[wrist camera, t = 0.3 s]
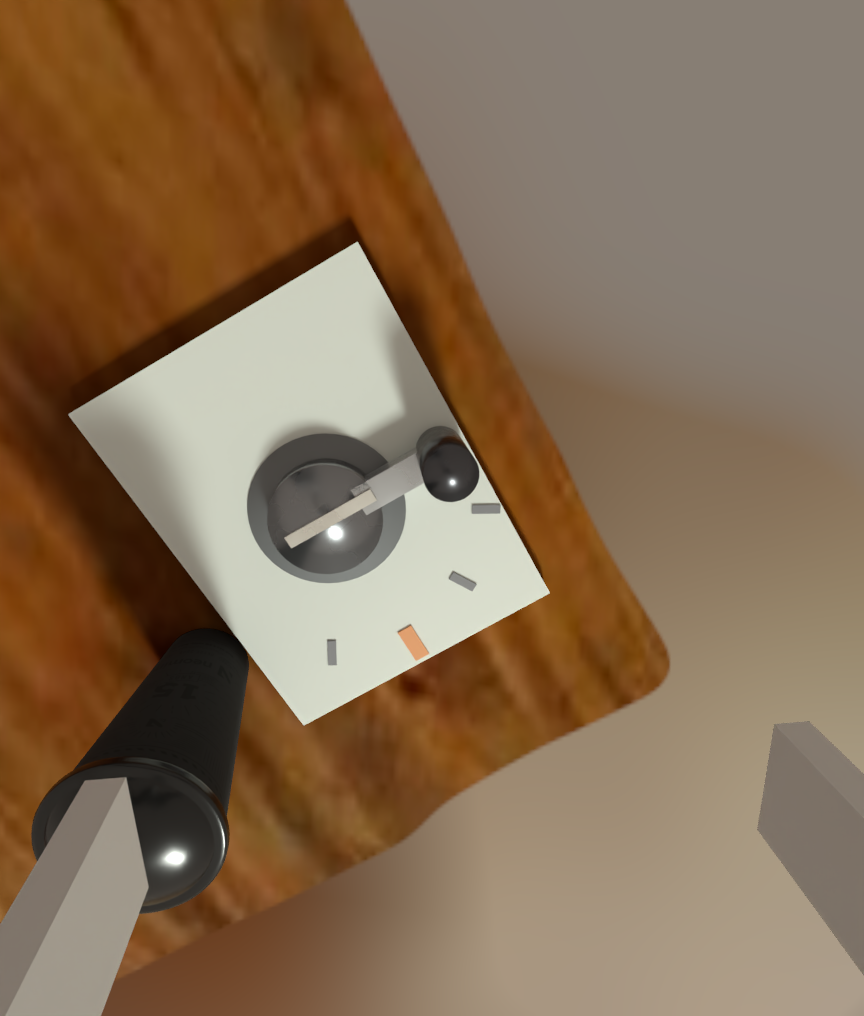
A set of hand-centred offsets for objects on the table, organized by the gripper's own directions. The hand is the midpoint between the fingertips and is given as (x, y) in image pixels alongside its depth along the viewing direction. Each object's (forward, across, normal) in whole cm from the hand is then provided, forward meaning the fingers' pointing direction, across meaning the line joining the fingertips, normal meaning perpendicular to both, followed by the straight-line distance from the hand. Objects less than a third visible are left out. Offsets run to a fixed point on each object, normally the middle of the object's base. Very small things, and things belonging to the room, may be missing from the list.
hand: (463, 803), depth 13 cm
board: (+25, -4, -1) cm, 25 cm away
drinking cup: (+25, -12, -11) cm, 30 cm away
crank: (+24, -2, 0) cm, 24 cm away
